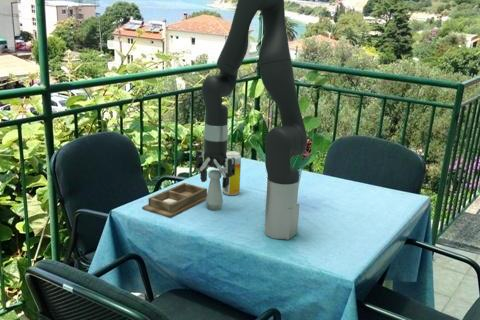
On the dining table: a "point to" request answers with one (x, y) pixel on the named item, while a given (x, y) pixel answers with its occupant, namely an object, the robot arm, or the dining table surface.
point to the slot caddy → (176, 200)
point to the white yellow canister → (235, 179)
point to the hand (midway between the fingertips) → (214, 184)
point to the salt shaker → (214, 191)
